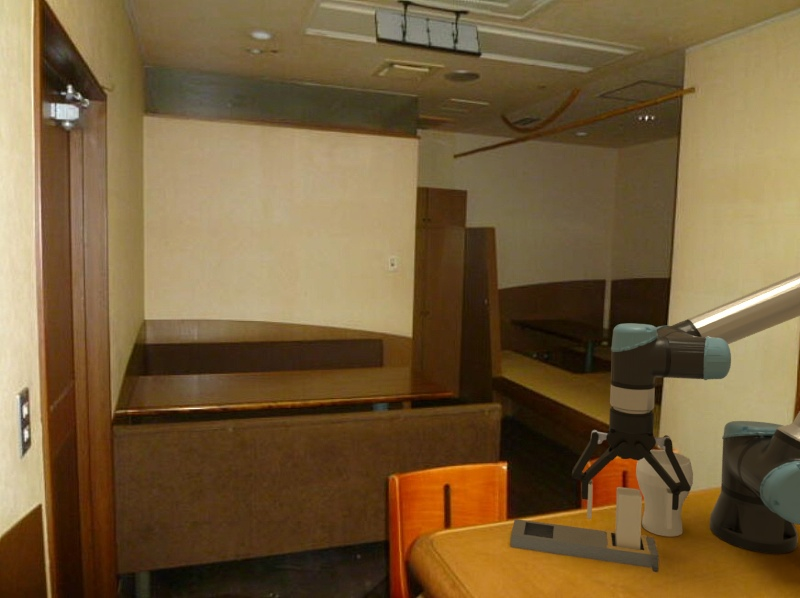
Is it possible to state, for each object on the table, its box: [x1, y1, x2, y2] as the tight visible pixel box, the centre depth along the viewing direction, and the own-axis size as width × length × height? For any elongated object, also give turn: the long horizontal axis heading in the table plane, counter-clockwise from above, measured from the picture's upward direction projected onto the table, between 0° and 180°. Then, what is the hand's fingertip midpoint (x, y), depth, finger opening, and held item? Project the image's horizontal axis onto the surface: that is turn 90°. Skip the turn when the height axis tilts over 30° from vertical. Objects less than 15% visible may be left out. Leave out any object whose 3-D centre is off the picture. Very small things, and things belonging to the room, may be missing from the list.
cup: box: [635, 449, 694, 537], centre depth 120 cm, size 11×11×15 cm
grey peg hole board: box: [510, 518, 660, 573], centre depth 110 cm, size 26×7×3 cm, turn 73°
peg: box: [615, 486, 643, 550], centre depth 108 cm, size 4×4×12 cm
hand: (627, 520), depth 108 cm, fingers open, 13 cm apart
